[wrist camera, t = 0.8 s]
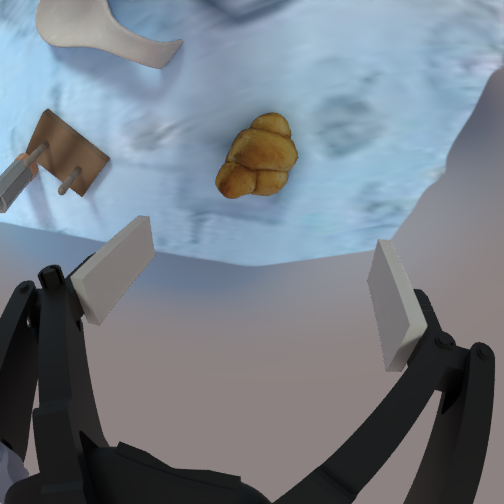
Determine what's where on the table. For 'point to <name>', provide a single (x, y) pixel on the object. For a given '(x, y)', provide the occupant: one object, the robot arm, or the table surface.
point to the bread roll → (258, 159)
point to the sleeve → (15, 181)
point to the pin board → (64, 154)
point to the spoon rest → (98, 31)
